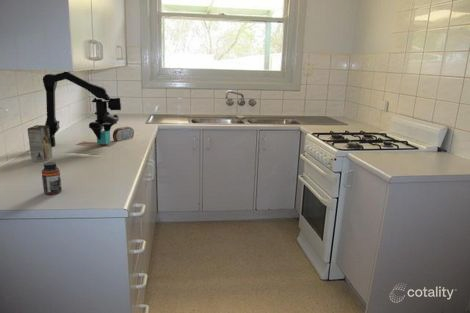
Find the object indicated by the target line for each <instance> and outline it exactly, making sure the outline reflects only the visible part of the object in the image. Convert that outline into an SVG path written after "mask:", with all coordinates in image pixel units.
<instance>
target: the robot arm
mask: <svg viewBox="0 0 470 313" xmlns="http://www.w3.org/2000/svg"><path fill="white" fill-rule="evenodd" d="M64 80H67V81H69V82H71V83H73V84H75V85H77V86H79V87H81V88H83V89H85V90H87V91H88V92H89V93H91V95H92V96H94V98H93V100H91V103H95V112H94V115H96V119H95V121H91V122H89V124H88V128H89V129H90V130H92V131H93V134H94V135H95V136H96V139H97V138H98V140H100V139H101V130H103V131H110V132H111V128H112V127H113V126H114V125H117V124H118V121H119V120H120V119H119V115H118V114H114V115H112V114H110V112H109V111H108V109H109V110H110V111H121V110H122V103H121V97H110V96H109V95H108V93H107V89H106V88H105V87H103V86H99V85H97V84H94V83H90V82H88V81H87V80H85V79H83V78H81V77H79V76H77V75H76V74H74V73H71V72H70V71H68V72H65V71H64V72H60V73H56V74H53V73H47V74H44V75H43V77H42V82H43V86H44V87H43V88H44V89H45V96H46V98H45V99H46V102H45V103H46V121H45V123H44V125H49V130H50V139H51V148H54V147H56V144H57V143H56V137H55V136H56V134H57V132H58V131H59V130H60V120H57V118H56V89H57V84H58V82H60V81H64Z"/></svg>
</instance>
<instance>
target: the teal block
mask: <svg viewBox="0 0 470 313" xmlns="http://www.w3.org/2000/svg"><path fill="white" fill-rule="evenodd" d="M96 142H97V144H108V143H111V130H110V131H104V129H102V130H101V139H100V140H98V138H97V137H96Z"/></svg>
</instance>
